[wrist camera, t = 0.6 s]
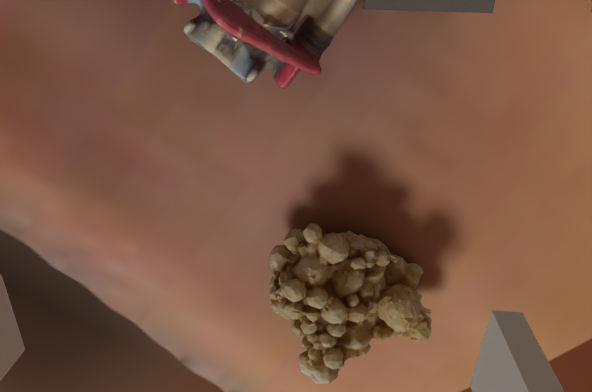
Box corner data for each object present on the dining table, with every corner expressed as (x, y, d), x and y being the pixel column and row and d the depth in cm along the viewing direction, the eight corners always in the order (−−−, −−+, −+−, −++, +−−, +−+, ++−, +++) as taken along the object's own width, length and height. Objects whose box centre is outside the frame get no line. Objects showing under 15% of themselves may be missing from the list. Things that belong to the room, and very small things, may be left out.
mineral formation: (306, 346, 47) (228, 234, 40) (428, 288, 45) (368, 162, 39) (318, 414, 39) (226, 291, 33) (464, 348, 38) (398, 205, 32)
